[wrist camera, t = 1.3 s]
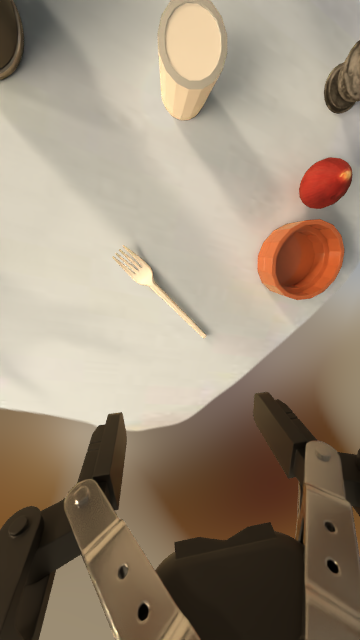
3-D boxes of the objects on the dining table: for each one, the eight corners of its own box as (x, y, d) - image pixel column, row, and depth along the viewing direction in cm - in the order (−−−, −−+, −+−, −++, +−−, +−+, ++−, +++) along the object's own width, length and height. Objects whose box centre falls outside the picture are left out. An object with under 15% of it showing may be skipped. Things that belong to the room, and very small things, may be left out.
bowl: (256, 226, 33) (274, 223, 29) (323, 220, 34) (350, 216, 30) (254, 296, 37) (269, 303, 32) (314, 289, 38) (337, 295, 33)
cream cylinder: (214, 118, 28) (233, 79, 22) (165, 132, 28) (169, 97, 21) (202, 49, 26) (220, -18, 19) (148, 64, 26) (147, 1, 19)
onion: (329, 181, 33) (383, 161, 25) (309, 218, 34) (354, 210, 27) (300, 161, 31) (348, 134, 24) (280, 201, 33) (319, 187, 25)
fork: (198, 342, 38) (200, 346, 37) (111, 258, 32) (109, 259, 30) (211, 330, 38) (214, 334, 36) (126, 243, 32) (125, 242, 30)
